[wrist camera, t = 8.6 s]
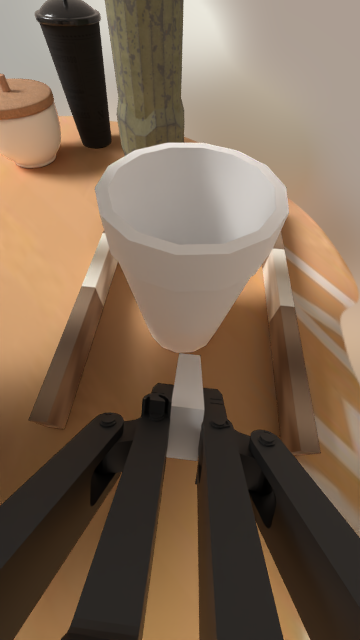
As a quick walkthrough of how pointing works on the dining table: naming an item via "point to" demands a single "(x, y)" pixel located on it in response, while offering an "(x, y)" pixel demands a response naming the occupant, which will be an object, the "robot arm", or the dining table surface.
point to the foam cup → (189, 233)
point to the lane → (283, 338)
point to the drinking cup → (79, 65)
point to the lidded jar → (28, 123)
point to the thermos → (147, 70)
